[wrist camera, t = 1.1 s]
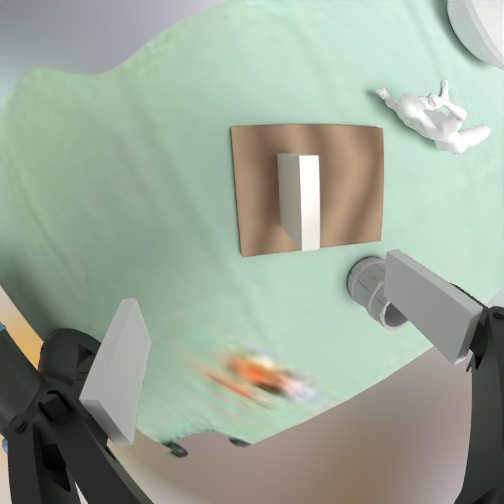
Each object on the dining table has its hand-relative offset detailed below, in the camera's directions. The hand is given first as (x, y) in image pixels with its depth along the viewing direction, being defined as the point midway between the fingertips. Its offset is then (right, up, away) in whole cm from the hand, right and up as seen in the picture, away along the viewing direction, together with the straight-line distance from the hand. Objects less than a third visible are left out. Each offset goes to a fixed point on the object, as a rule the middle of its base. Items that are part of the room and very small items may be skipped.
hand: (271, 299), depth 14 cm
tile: (+3, +10, +20) cm, 23 cm away
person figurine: (+24, +22, +20) cm, 39 cm away
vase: (+39, +44, +14) cm, 61 cm away
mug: (+19, -1, +28) cm, 34 cm away
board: (+7, +11, +22) cm, 25 cm away
